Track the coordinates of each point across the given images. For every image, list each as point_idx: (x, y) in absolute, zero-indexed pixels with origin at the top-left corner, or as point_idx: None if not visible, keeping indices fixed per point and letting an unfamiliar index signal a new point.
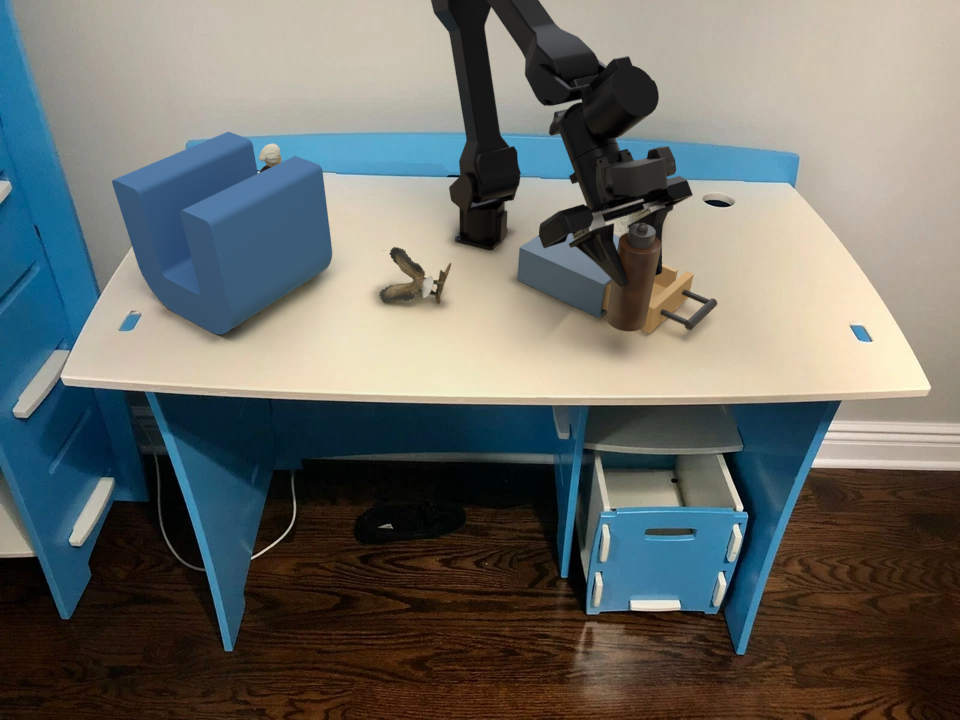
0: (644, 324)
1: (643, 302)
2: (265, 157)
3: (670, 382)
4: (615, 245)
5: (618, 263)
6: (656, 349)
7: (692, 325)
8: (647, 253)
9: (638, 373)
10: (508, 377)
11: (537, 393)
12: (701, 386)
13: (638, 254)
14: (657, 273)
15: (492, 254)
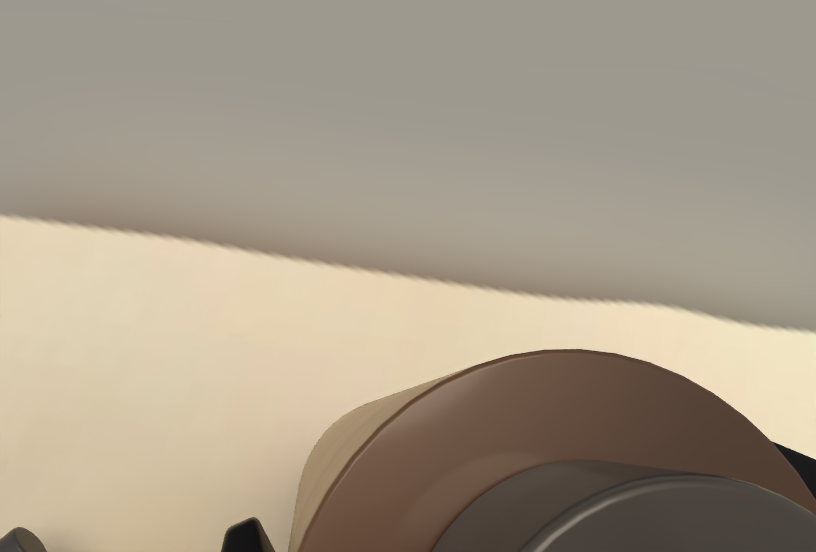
0: (322, 435)
1: (384, 397)
2: None
3: (232, 301)
4: None
5: None
6: (208, 505)
7: (13, 532)
8: (560, 351)
9: (333, 366)
10: (780, 405)
11: (696, 314)
12: (123, 263)
13: (659, 372)
14: (264, 537)
15: None
